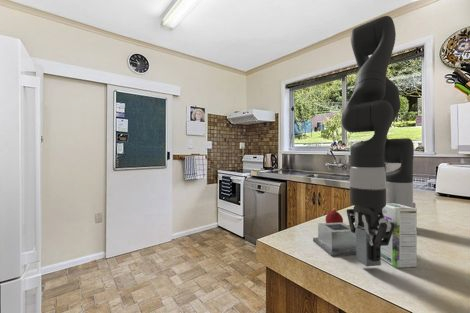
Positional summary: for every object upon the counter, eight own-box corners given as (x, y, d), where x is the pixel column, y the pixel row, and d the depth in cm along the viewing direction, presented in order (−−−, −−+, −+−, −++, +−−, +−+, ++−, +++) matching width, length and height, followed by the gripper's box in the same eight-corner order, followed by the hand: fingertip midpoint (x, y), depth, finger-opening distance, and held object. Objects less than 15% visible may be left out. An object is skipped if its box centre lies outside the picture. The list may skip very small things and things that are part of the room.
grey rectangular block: (370, 258, 57) (369, 226, 56) (380, 265, 53) (380, 231, 53) (356, 259, 56) (356, 227, 56) (366, 266, 53) (366, 232, 52)
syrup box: (378, 257, 60) (378, 203, 60) (399, 256, 61) (398, 202, 61) (395, 268, 54) (395, 208, 54) (418, 267, 55) (417, 207, 55)
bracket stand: (372, 237, 74) (372, 168, 74) (400, 252, 63) (399, 170, 63) (313, 240, 72) (312, 169, 72) (331, 256, 61) (330, 171, 61)
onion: (344, 233, 79) (344, 210, 79) (327, 232, 80) (327, 210, 80) (340, 228, 84) (340, 207, 84) (324, 227, 85) (324, 206, 85)
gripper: (406, 189, 48) (407, 270, 48) (362, 181, 62) (363, 244, 62) (373, 190, 47) (374, 273, 47) (336, 182, 61) (337, 245, 61)
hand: (368, 256), depth 55 cm, fingers closed on grey rectangular block, 3 cm apart
